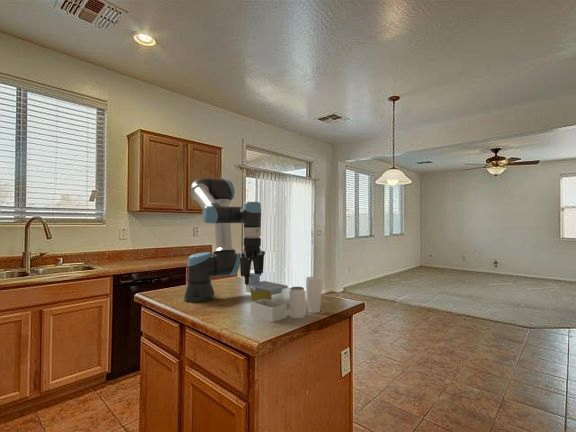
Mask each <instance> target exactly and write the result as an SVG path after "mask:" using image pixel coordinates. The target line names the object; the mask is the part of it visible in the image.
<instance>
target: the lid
mask: <svg viewBox="0 0 576 432" xmlns="http://www.w3.org/2000/svg"><path fill="white" fill-rule="evenodd" d="M249 277H251V284H249V286H251V287H255V291H257V290H262V289H264V290H268V291H271V295H272V296H274V295H278V294H282V293H283V292H282V291H283V289H288V288H289V287H288V285H286V284H282V283H281V284H280V283H276V282H273V281H266V280H261V276H260V274H255V273H254V272H250V276H249Z"/></svg>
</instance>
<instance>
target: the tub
mask: <svg viewBox="0 0 576 432" xmlns="http://www.w3.org/2000/svg"><path fill="white" fill-rule="evenodd" d="M250 317H254V318H258V319H260V320H263V321H267V322H270V323H275V322H278V321H280V320H284V319H286V318H287V303H282V302H278V301H275V300H272V299H270V300H267V299H262V300H258V301H254V302H252V301H251V302H250Z"/></svg>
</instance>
